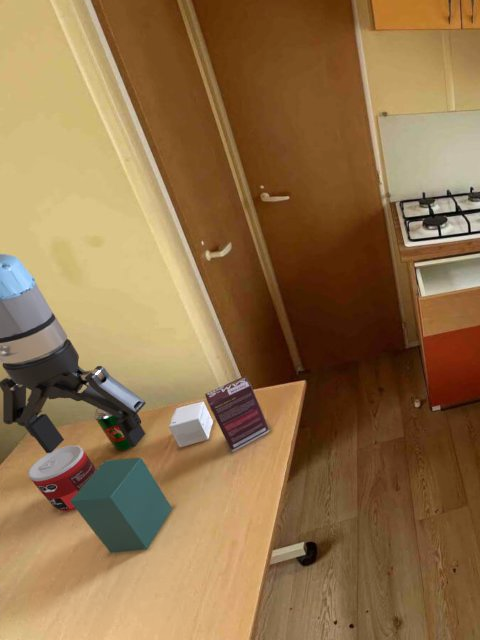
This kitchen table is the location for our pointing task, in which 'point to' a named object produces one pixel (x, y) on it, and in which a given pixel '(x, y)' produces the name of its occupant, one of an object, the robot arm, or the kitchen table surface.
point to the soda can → (111, 429)
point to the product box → (191, 424)
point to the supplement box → (237, 413)
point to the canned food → (62, 475)
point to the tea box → (123, 505)
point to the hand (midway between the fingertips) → (97, 443)
